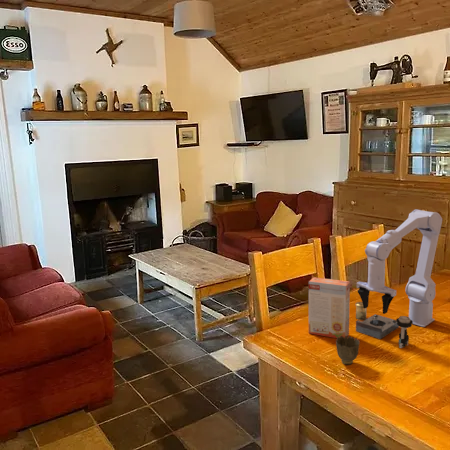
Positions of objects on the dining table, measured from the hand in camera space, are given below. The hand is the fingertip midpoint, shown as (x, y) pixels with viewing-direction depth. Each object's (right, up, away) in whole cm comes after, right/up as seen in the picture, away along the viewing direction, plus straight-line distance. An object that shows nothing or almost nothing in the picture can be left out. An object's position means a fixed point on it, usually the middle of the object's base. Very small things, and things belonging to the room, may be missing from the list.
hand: (375, 310), depth 166 cm
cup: (-15, -14, -17) cm, 27 cm away
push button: (+7, -11, -7) cm, 15 cm away
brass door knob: (0, -6, +17) cm, 18 cm away
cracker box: (-16, -10, +4) cm, 19 cm away
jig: (+3, -8, +7) cm, 11 cm away
